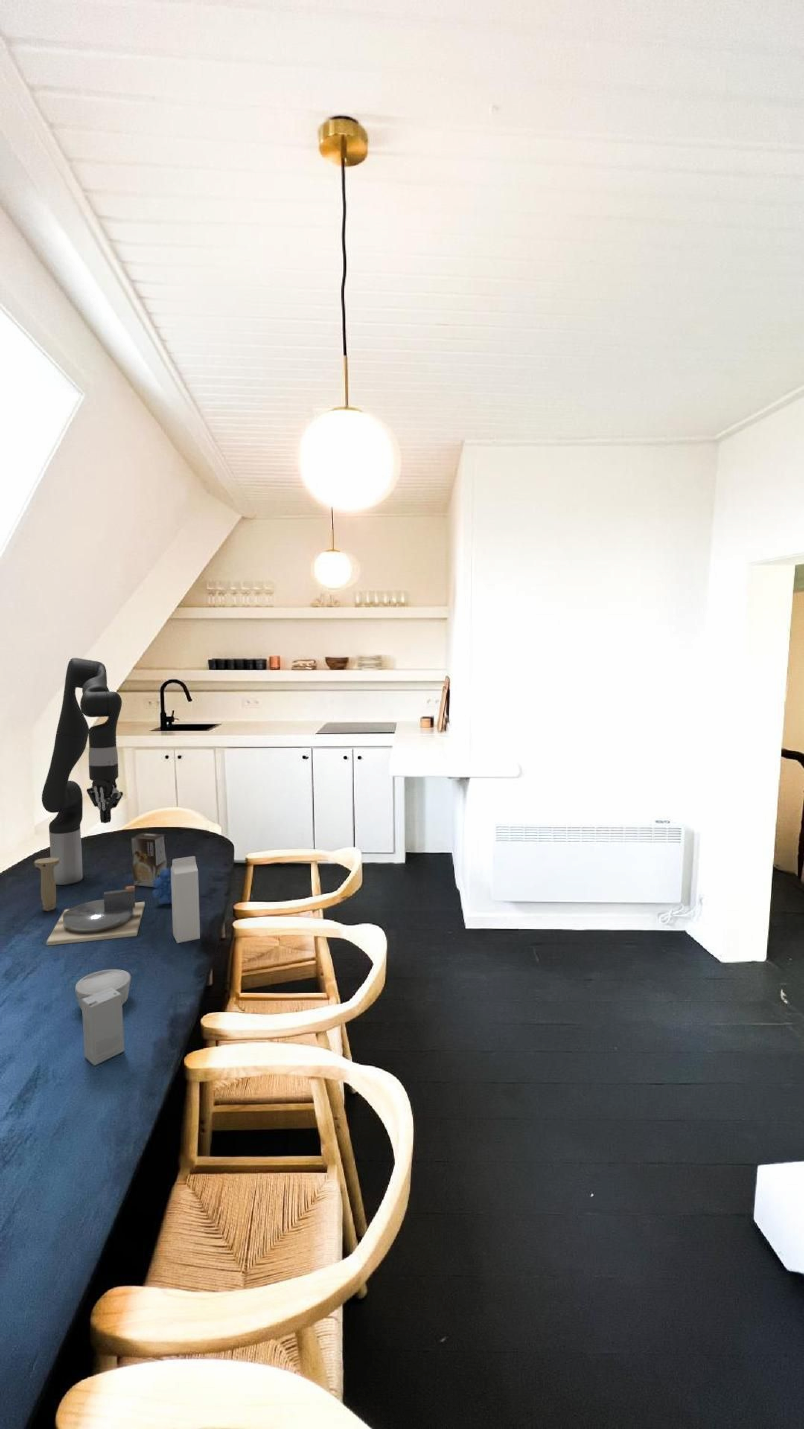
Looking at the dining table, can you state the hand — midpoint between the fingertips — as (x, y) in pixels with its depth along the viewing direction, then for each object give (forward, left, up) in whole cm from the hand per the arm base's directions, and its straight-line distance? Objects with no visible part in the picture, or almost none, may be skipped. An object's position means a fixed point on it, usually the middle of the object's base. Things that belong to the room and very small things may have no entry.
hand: (105, 822), depth 187 cm
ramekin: (+49, +6, -29) cm, 57 cm away
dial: (+4, -2, -27) cm, 27 cm away
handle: (-11, -18, -28) cm, 35 cm away
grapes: (-7, +17, -28) cm, 34 cm away
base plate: (+4, -2, -28) cm, 28 cm away
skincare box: (+69, +9, -28) cm, 75 cm away
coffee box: (-26, +9, -28) cm, 39 cm away
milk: (+19, +22, -28) cm, 40 cm away
